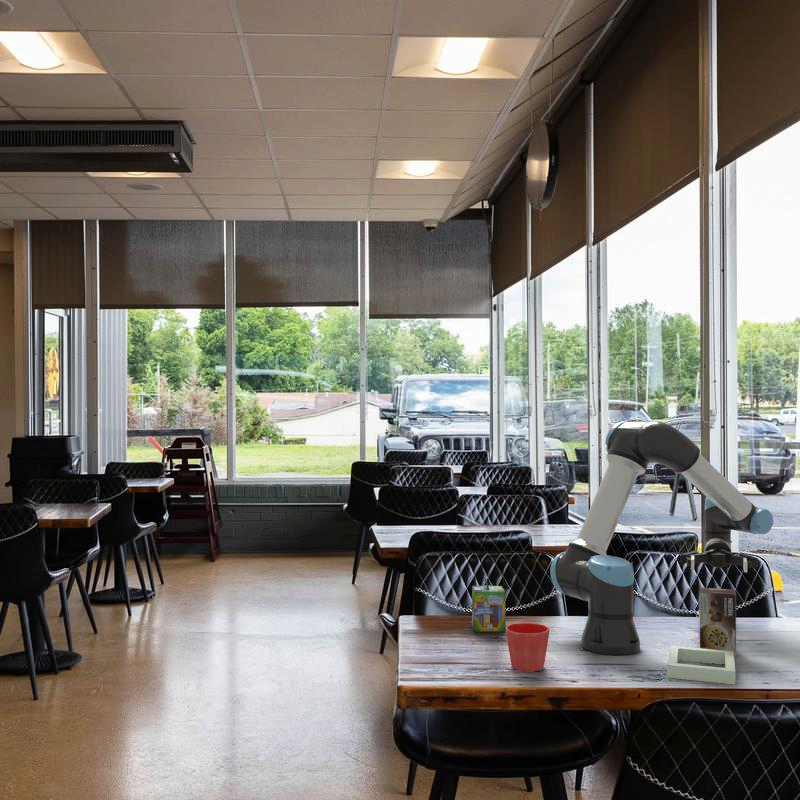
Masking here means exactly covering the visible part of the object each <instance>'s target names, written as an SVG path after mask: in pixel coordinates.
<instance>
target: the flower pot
mask: <svg viewBox="0 0 800 800" xmlns="http://www.w3.org/2000/svg"><path fill="white" fill-rule="evenodd" d="M550 630H551V629H550V627H548V626H547V625H544V624H542V623H535V622H534V623H533V622H517V623H511V624H508V625H506V632H505V635H506V636H505V637H506V641H507V647H508V652H509V653H508V654H509V659H510V663H511V664H510V665H511V668H512V669H514V670H515V671H520V672H528V673H529V672H530V673H533V672H534V673H535V672H537V671H542V670H543V669H544V668H545V667H544V666H545V661H546V655H547V651H548V645H549V636H550Z"/></svg>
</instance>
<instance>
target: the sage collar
mask: <svg viewBox="0 0 800 800" xmlns="http://www.w3.org/2000/svg"><path fill="white" fill-rule="evenodd" d="M669 647H670V648H669V652H668V653H669V654H668V660H667V672H666V673H667V677H666V678H670V679H677V680H678V679H680V680H688V681H695V682H696V681H697V682H698V681H699V682H706V683H716V682H717V684H726V685H736V665H735V656H734V654H733V651H724V650H713V649H702V648H700V647H689V646H678V645H670V646H669ZM679 661H683V662H693V663H701V662H702V663H703V664H712V663H715V664H714V665H722V664H725V665H724V667H718V666H709V665H708V666H707V665H697V664H689V663H687V664H686V663H679Z"/></svg>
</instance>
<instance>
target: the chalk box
mask: <svg viewBox="0 0 800 800" xmlns="http://www.w3.org/2000/svg"><path fill="white" fill-rule="evenodd" d="M483 579H484V581H485V585H472V586H471V628H472V630H473V632H474V633H485V632H490V633H492V632H493V633H494V632H495V633H496V632H502V633H503V632H504V633H506V626H507V625H506V624H507V623H506V620H507V618H506V615H507V614H506V613H507V612H506V591H505V589H504V587H503V586H502V585H489V584H488V580H487V577H486V576H485V575H483Z"/></svg>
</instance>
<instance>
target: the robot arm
mask: <svg viewBox="0 0 800 800" xmlns="http://www.w3.org/2000/svg"><path fill="white" fill-rule="evenodd" d="M604 444H605V445H606V446H605V450H606V453H607V455H606V456H605V458H606V460H607V463H608V465H607V468H606V470H605V472H604V475H603V477H602V480H601V482H600V484H599V487H598V489H597V492H596V494H595V496H594V498H593V500H592V502H591V503H592V504H591V505H590V508H589V510H588V512H587V515H586V517H585V519H584V522H583V524H582V526H581V529H580V532H579V534H578V536H577V538H576V539H575V540H573V541H570V542H569V543H568V546H567V547H566V550H565V551H563V552H560V553H558V554H556V556H555V557H554V558H553V560H552V562H551V565H550V570H549V571H550V574H549V575H550V579H551V581H552V584H553V586H554V587H555V589H556V590H557V591H559V592H560V593H562V594H565V595H566V596H568V598H569V597H571V598H576V599H579V600H582V601H585V602H588V603H587V604H588V605H587V606H588V609H587V611H588V612H587V614H588V616H587V620H586V623H585V626H584V628H583V631H582V635H581V642H580V643H581V644H580V645H581V647H582V649H584V650H586V651H589V652H591V653H596V654H601V655H602V654H603V655H612V656H613V655H615V656H625V655H632V654H637V653H638V652H640V651H641V640H640V637H639V634H638V630H637V627H636V624H635V621H634V600H635V575H634V566H633V564H632V563H631V561H629V560H627V559H624V558H622V557H618V556H612V555H609V554H608V555H607V550H608V548H609V545H610V543H611V541H612V538H613V537H614V533H615V531H616V528H617V526H618V523H619V522H620V519H621V517H622V513H623V512H624V509H625V507H626V504H627V502H628V500H629V498H630V495H631V492H632V490H633V488H634V485H635V483H636V481H637V478H638V477H639V476H641V475H643V474H645V473H646V470H647V469H648V466H649V464H650V463H652V464H653V463H655V464H659V465H662V466H665V467H667V468H669V469H670V470H671V471H672V472H673V473H675V474H681V475H682V476H684V478H686V480H688V482H690V483H691V484H692V485H693V486H694V487H695V488H696V489H697V490H698V491H700V492H701V493H702V494H703V495H704V496H705V498H704V509H703V511H704V542H703V543H704V548H703V549H704V551H703V552H702V553H700V551H698V550H697V549H694V550H692V551H689V552H685V553H682V554H680V564H681V565H684V564H686V565H687V568H690V570H695V565H696V564H707V565H710V566H711V567H713V568H716V569H717V568H718V569H720V568H721V569H722V568H725V567H727V566H728V565H729V566H734V565H736V566H738V567H742V568H743V572H744V573H748V569H751V568H754V569H757V568H758V566H759V565H758V564H759V563H758V561H759V560H758V557H753V556H751V555H748V554H745V553H744V552H739V553H737V555H736V554H734V552H732V537H731V536H732V530H733V531H737V532H742V533H749V534H752V535H767V534H769V532H770V531H771V529H772V528H773V525H774V516H773V514H772V512H771V511H770V510H769V509H766V508H763V507H757V506H756V505H754V504H753V503H752V502H751V501H750V500H749V499H748V498H747V497H746V495H744V494H743V493H742V492H740V491H739V489H737V487H736V486H735V485H734V484H732V483H731V481H729V480H728V479H727V478H726V477H725V476H724V475H722V473H721V472H720V471H718V469H717V468H716V467H714V466H713V465H712V464H711V463H710V462H709V461H708V460H707V459H706V458H705V457H704V456H703V455H702V454H701V449H700V447H699V446H698V445H697V444H695V442H694V441H692V440H691V439H690V438H689V437H688V436H687V435H685V434H684V433H683V432H682V431H680V430H678V429H677V428H676V427H674V426H672V425H671V424H669V423H665V422H663V421H658V420H657V421H656V420H655V421H654V420H653V421H652V420H651V421H647V420H635V419H628V420H623V421H620V422H619V421H618V422H617V423H615V424H614V425H612V426H611V428H610V429H609V430H608V431H607V435H606V436H605V443H604Z"/></svg>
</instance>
